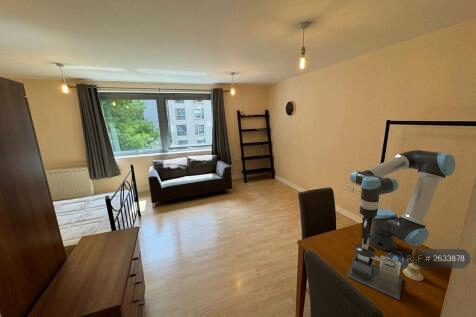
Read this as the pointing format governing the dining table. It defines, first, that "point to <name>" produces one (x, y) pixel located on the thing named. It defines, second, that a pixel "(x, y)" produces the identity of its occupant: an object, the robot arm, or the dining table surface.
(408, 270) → the hand bell
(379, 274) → the press stand
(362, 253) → the black ball joystick
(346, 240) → the dining table surface
